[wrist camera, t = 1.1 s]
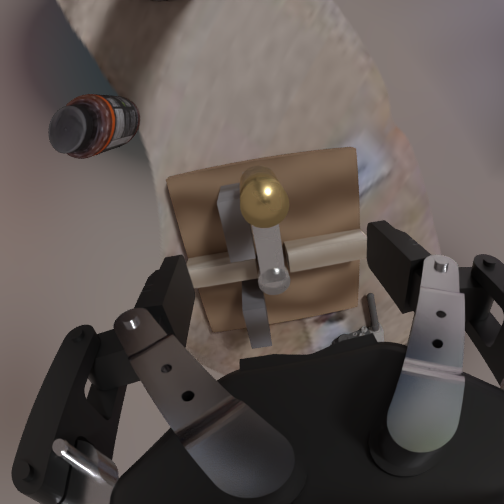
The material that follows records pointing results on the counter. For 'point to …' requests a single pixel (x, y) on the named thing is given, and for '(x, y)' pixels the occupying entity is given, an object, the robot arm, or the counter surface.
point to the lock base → (292, 238)
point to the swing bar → (266, 224)
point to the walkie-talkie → (374, 328)
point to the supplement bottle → (93, 125)
